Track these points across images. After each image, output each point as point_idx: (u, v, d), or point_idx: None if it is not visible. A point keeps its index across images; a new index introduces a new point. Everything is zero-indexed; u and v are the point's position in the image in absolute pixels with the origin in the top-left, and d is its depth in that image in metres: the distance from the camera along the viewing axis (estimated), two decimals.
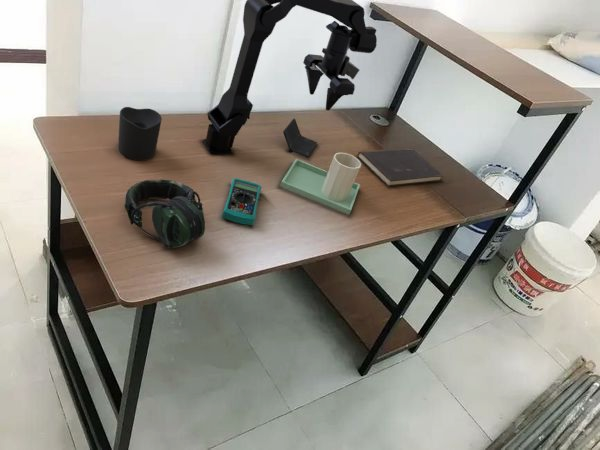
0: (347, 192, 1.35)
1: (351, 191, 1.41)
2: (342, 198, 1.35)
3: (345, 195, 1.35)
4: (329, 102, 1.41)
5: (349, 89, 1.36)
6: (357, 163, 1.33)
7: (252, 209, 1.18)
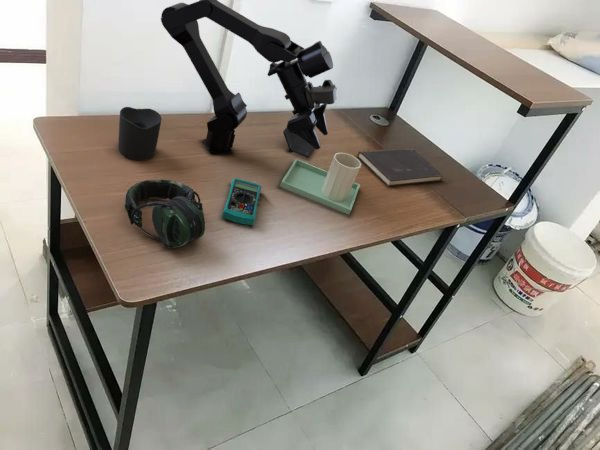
0: (347, 192, 1.35)
1: (351, 191, 1.41)
2: (342, 198, 1.35)
3: (345, 195, 1.35)
4: (308, 141, 1.26)
5: (301, 122, 1.19)
6: (357, 163, 1.33)
7: (252, 209, 1.18)
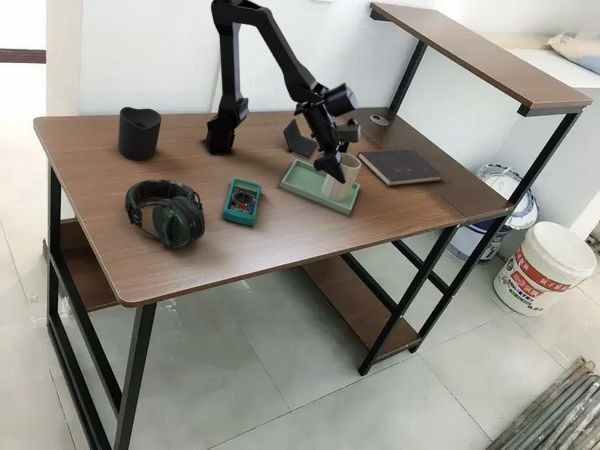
0: (347, 192, 1.35)
1: (351, 191, 1.41)
2: (342, 198, 1.35)
3: (345, 195, 1.35)
4: (334, 176, 1.30)
5: (327, 162, 1.23)
6: (357, 163, 1.33)
7: (252, 209, 1.18)
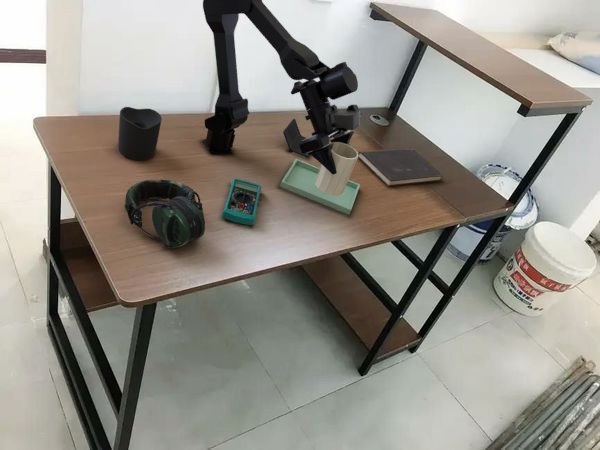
0: (340, 186, 1.22)
1: (351, 191, 1.41)
2: (334, 192, 1.23)
3: (338, 189, 1.23)
4: (324, 164, 1.19)
5: (312, 144, 1.13)
6: (355, 156, 1.21)
7: (252, 209, 1.18)
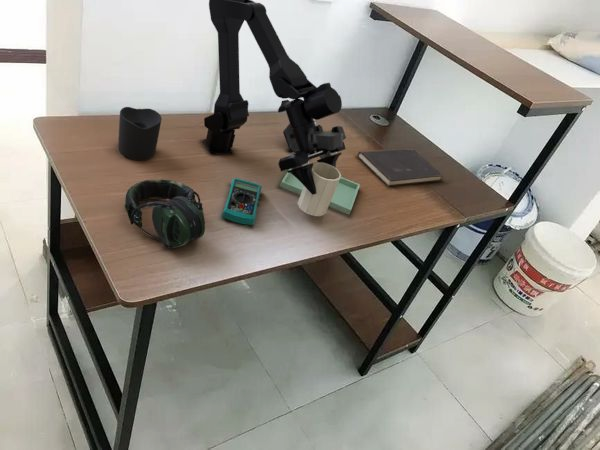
0: (320, 206, 1.21)
1: (351, 191, 1.41)
2: (314, 212, 1.22)
3: (318, 210, 1.21)
4: (304, 184, 1.18)
5: (289, 162, 1.13)
6: (338, 177, 1.20)
7: (252, 209, 1.18)
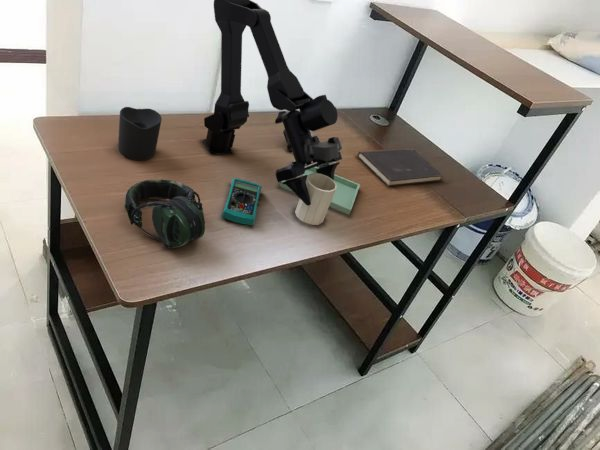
0: (317, 217, 1.23)
1: (351, 191, 1.41)
2: (311, 222, 1.23)
3: (315, 220, 1.23)
4: (298, 195, 1.19)
5: (286, 173, 1.14)
6: (334, 188, 1.21)
7: (252, 209, 1.18)
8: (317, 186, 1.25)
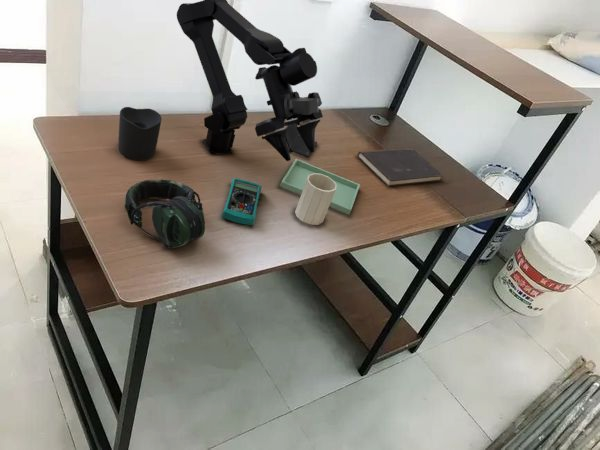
0: (317, 217, 1.23)
1: (351, 191, 1.41)
2: (311, 222, 1.23)
3: (315, 220, 1.23)
4: (278, 150, 1.19)
5: (265, 126, 1.14)
6: (334, 188, 1.21)
7: (252, 209, 1.18)
8: (317, 186, 1.25)
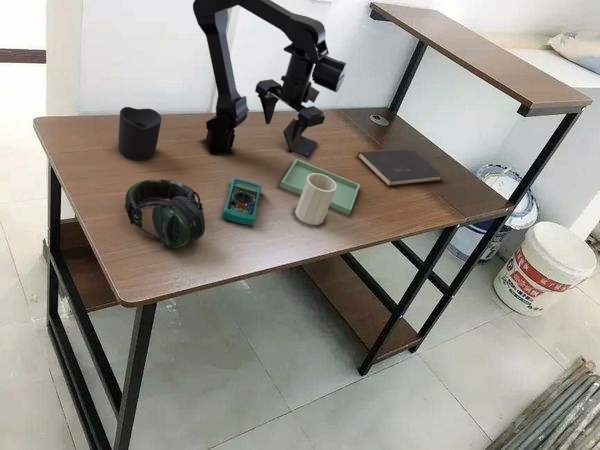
0: (317, 217, 1.23)
1: (351, 191, 1.41)
2: (311, 222, 1.23)
3: (315, 220, 1.23)
4: (297, 134, 1.26)
5: (320, 119, 1.23)
6: (334, 188, 1.21)
7: (252, 209, 1.18)
8: (317, 186, 1.25)
